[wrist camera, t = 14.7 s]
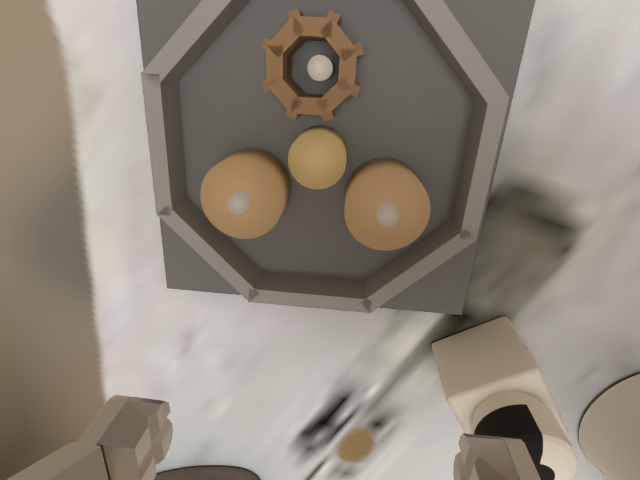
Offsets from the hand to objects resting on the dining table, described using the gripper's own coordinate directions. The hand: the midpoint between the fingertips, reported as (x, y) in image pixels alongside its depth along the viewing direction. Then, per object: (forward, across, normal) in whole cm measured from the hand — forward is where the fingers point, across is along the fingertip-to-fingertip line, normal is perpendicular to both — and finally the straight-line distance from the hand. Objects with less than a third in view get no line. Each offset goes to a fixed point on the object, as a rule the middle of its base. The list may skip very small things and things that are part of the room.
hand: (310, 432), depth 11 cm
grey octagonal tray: (+23, +2, -4) cm, 23 cm away
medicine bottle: (+23, -14, +15) cm, 31 cm away
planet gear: (+22, +2, -9) cm, 24 cm away
